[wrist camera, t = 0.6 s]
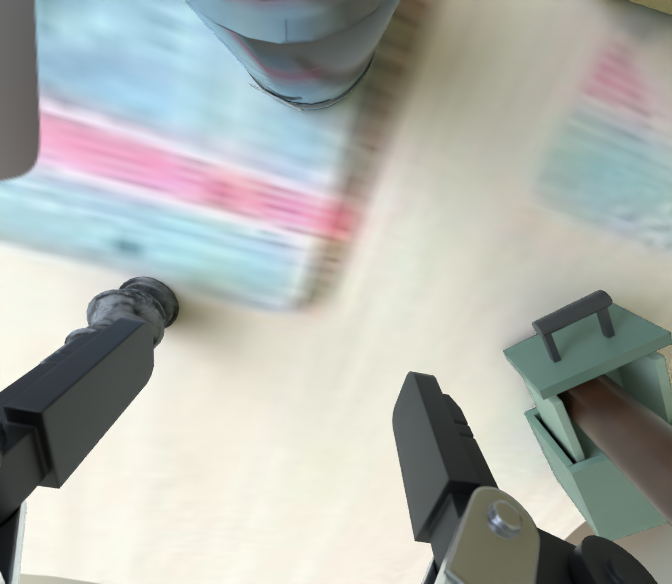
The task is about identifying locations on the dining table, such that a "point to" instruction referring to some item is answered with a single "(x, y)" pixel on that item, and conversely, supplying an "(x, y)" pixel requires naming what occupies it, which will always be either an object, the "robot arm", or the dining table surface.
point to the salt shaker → (131, 308)
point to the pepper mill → (626, 436)
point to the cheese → (656, 5)
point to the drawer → (592, 363)
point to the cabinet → (597, 488)
